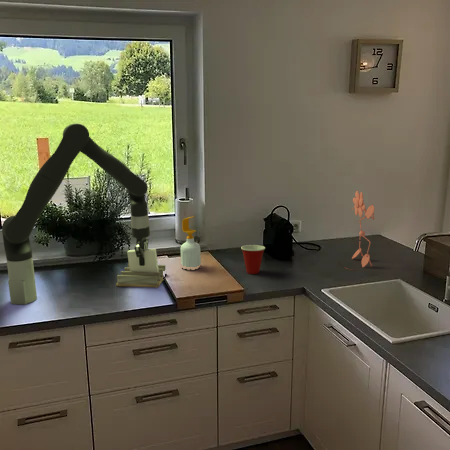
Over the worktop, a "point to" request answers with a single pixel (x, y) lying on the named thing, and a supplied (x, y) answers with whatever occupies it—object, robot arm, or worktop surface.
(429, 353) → the worktop surface
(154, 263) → the pale green flat slab
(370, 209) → the figurine
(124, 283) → the dish rack
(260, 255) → the plastic cup
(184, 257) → the soap bottle
